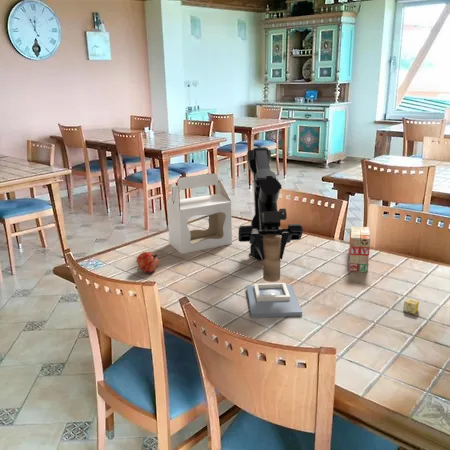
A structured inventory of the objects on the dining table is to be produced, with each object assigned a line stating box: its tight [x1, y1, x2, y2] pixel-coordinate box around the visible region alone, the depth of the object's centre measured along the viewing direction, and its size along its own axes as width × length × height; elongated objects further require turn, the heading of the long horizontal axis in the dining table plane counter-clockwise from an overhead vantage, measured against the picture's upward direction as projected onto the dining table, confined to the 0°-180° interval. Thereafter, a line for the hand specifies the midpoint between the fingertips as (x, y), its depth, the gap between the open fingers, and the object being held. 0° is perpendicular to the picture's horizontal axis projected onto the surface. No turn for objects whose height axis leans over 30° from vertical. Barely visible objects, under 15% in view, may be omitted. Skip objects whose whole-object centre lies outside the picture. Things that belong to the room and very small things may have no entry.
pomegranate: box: [136, 251, 160, 274], centre depth 158 cm, size 7×7×10 cm
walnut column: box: [262, 234, 281, 283], centre depth 134 cm, size 5×5×13 cm
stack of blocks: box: [348, 225, 371, 273], centre depth 163 cm, size 21×6×12 cm, turn 165°
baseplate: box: [246, 282, 303, 318], centre depth 135 cm, size 18×14×2 cm
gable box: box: [166, 172, 233, 255], centre depth 180 cm, size 22×13×28 cm, turn 118°
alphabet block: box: [403, 298, 420, 315], centre depth 128 cm, size 3×3×3 cm
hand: (272, 259), depth 133 cm, fingers closed on walnut column, 5 cm apart
